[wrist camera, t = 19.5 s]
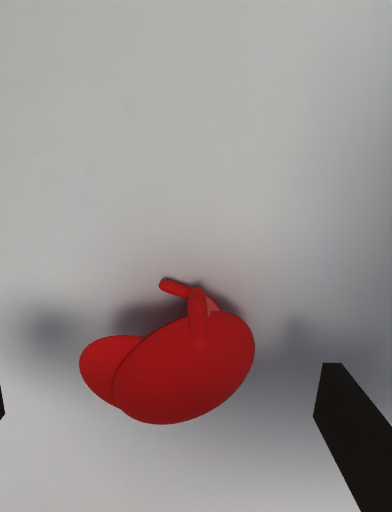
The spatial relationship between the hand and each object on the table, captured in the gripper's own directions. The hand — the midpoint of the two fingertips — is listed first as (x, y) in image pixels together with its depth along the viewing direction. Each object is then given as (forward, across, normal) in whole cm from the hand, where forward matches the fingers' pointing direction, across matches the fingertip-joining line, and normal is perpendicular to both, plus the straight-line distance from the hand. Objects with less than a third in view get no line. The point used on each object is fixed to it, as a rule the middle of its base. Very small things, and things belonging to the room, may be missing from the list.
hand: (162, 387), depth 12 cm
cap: (+6, 0, 0) cm, 6 cm away
